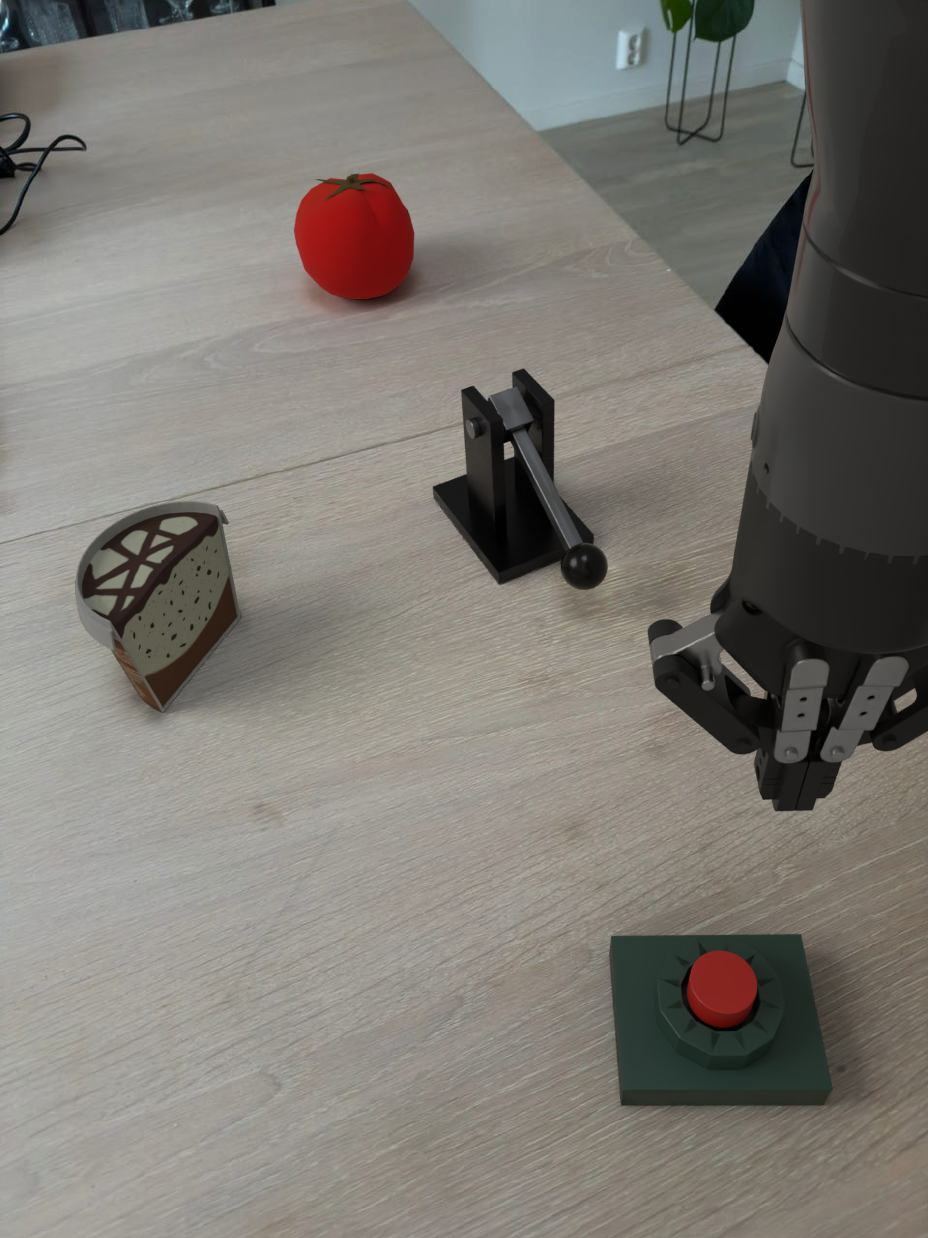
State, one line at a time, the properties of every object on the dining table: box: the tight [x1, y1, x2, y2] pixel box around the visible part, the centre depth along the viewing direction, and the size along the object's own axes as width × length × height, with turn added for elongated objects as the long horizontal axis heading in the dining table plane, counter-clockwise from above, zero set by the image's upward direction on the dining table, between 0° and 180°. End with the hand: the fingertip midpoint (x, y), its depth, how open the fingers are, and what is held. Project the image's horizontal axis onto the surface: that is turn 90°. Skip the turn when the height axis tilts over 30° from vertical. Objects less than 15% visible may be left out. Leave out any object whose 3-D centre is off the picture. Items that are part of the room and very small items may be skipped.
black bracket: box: [432, 367, 595, 585], centre depth 79 cm, size 11×8×12 cm
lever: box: [486, 386, 609, 591], centre depth 75 cm, size 15×3×3 cm, turn 27°
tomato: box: [293, 172, 415, 300], centre depth 104 cm, size 12×12×11 cm
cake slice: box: [74, 500, 242, 714], centre depth 73 cm, size 12×6×10 cm, turn 154°
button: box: [687, 951, 757, 1028], centre depth 54 cm, size 3×3×2 cm
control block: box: [608, 933, 834, 1106], centre depth 55 cm, size 10×8×4 cm
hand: (788, 792), depth 44 cm, fingers closed
